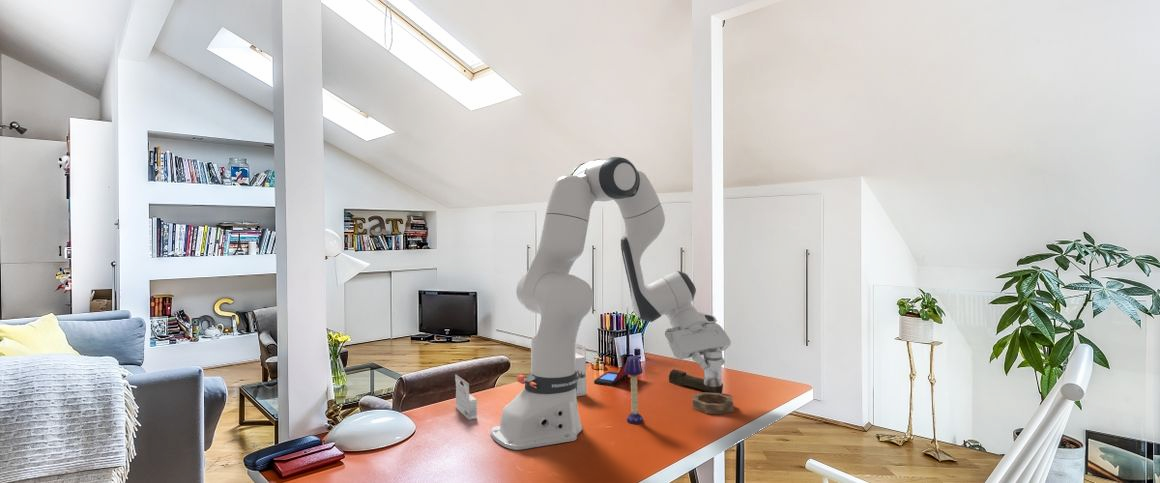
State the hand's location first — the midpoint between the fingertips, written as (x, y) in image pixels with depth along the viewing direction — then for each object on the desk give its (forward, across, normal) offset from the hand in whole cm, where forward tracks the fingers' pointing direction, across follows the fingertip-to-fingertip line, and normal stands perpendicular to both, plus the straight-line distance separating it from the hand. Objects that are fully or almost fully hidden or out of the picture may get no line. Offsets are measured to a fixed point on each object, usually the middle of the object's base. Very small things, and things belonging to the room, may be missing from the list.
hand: (714, 366), depth 145 cm
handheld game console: (-17, -7, +34) cm, 39 cm away
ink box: (-15, -25, +32) cm, 44 cm away
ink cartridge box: (-16, -59, +32) cm, 70 cm away
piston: (+3, 0, +4) cm, 5 cm away
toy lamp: (+5, -25, +12) cm, 28 cm away
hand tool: (-3, +8, +20) cm, 22 cm away
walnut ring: (+8, 0, +9) cm, 12 cm away
